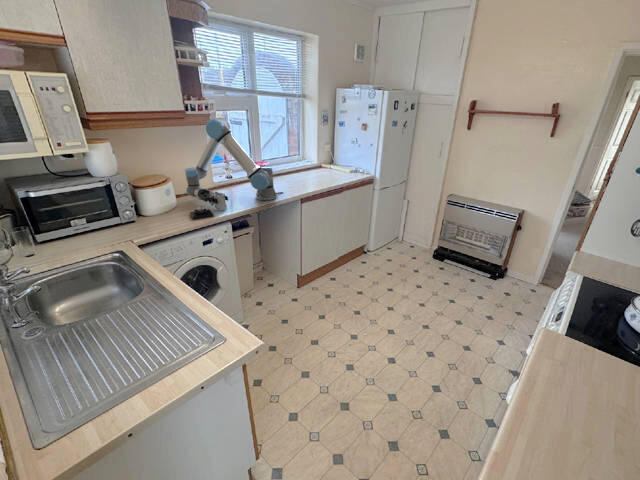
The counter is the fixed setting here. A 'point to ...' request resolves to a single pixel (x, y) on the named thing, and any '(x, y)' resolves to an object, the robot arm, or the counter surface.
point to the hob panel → (201, 214)
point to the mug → (221, 201)
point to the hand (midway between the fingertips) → (222, 199)
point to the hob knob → (200, 208)
